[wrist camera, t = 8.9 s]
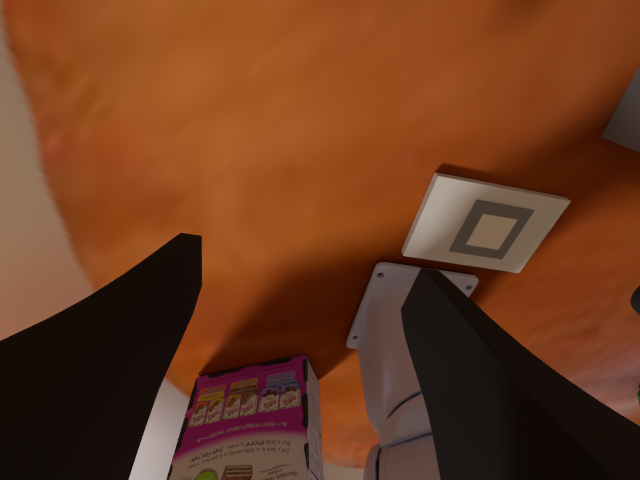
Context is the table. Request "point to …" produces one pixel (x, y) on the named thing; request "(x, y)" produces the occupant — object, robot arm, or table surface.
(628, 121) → the gray block
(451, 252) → the tile
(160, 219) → the table surface
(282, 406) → the candy bar box
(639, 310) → the drinking cup
